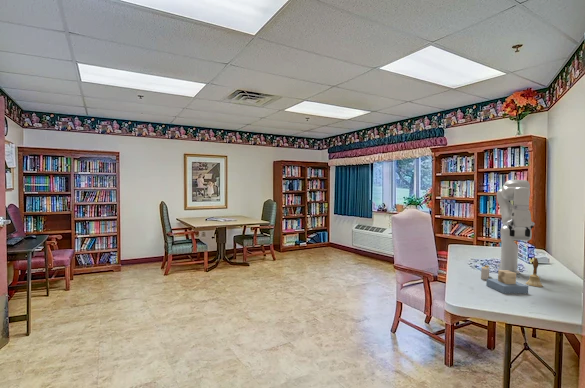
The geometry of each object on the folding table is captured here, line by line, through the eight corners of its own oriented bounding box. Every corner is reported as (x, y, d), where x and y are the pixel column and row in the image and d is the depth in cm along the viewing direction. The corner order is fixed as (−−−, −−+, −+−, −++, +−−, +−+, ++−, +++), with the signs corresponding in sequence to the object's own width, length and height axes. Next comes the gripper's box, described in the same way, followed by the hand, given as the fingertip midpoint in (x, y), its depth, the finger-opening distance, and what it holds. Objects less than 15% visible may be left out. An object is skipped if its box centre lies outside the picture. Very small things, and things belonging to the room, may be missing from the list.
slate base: (486, 285, 189) (486, 278, 189) (509, 285, 190) (509, 278, 190) (503, 293, 175) (503, 286, 175) (528, 293, 176) (528, 286, 176)
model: (481, 279, 203) (481, 267, 203) (483, 276, 211) (483, 264, 211) (486, 280, 201) (487, 268, 201) (489, 277, 209) (489, 265, 209)
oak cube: (497, 280, 185) (498, 270, 185) (507, 280, 186) (508, 270, 186) (505, 283, 179) (505, 273, 179) (515, 284, 180) (516, 273, 180)
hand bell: (540, 284, 195) (542, 257, 195) (544, 287, 188) (546, 260, 187) (524, 281, 199) (525, 256, 198) (527, 285, 191) (528, 258, 191)
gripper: (511, 208, 190) (510, 237, 191) (539, 208, 191) (538, 237, 192) (502, 207, 198) (501, 235, 198) (529, 207, 199) (528, 235, 199)
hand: (519, 236), depth 195 cm, fingers open, 9 cm apart
